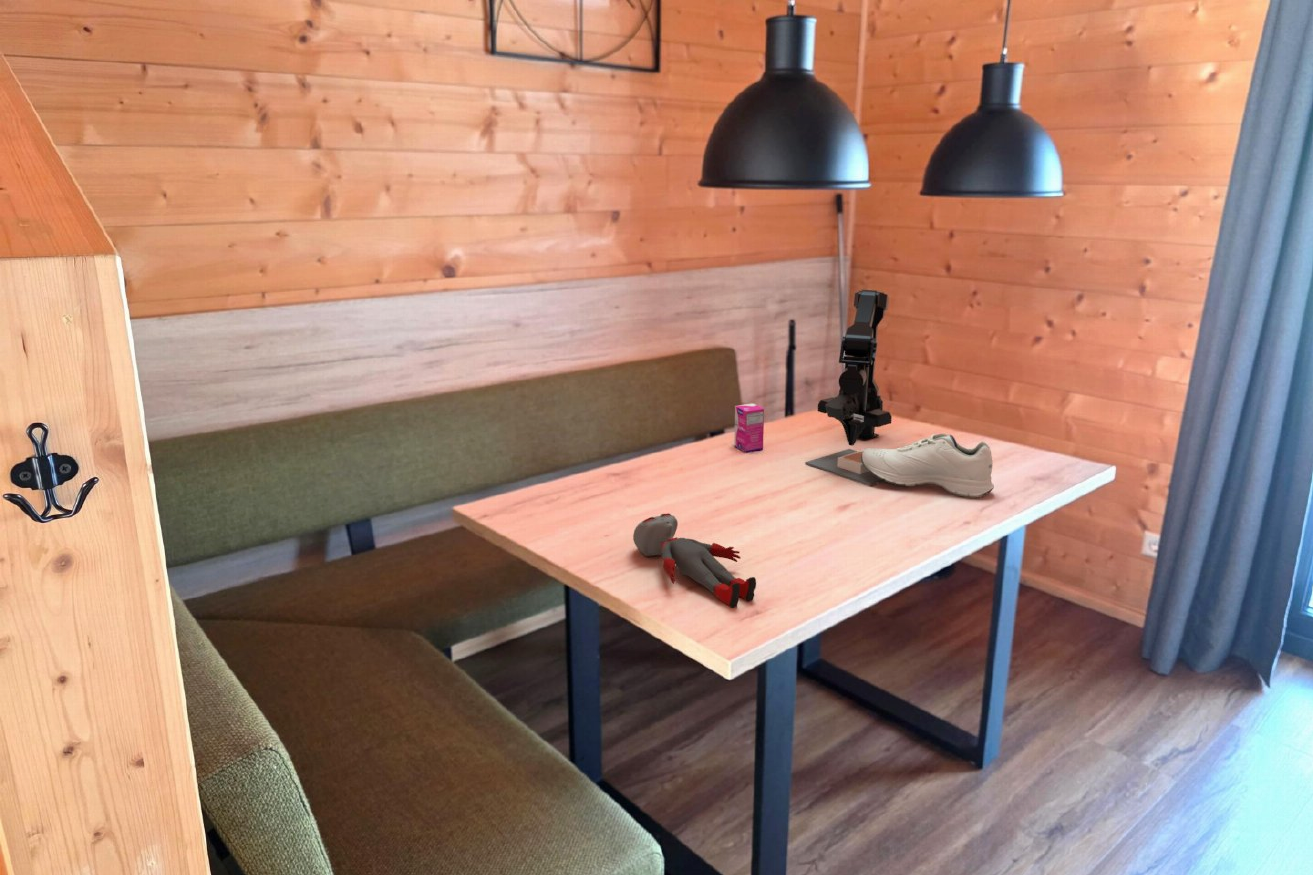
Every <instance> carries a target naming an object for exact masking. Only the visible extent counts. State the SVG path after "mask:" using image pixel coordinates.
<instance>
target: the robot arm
mask: <svg viewBox="0 0 1313 875" xmlns="http://www.w3.org/2000/svg"><path fill="white" fill-rule="evenodd" d="M889 298H890V297H889V295H888V294H887V293H885V292H882V291H878V290H876V289H862V290H858V292H854V296H853V306H852V307H853V309H855V310H856V312H855V316H854V321H853V324H852V325H851V326H849V327H847V328H846V331H845V335H844V336H842V338H841V342H840V343H841V344H840V351H839V359H838V363H839V364H844V368H843V370H842V372H841V374H840V375H839V378H838V385H839V386H838V387H839V390H838V395H837V396H835V397H828V398H824V399H821V400H819V401H818V403H817V410H816V411H817V412H818V413H819V412H820V413H822V414H827V417H828V418H833V419H835V420H837V421H838V422H840V423H841V425H842V426H843V430H844V432H845V433H844V434H845V436H846V440H847V443H848V446H854V445H855V444H856V443H857V440H861V441H867V440H868V441H869V440H870V439H873V438H878V437H879V436H880V434H879V433H877V432H875V429H876V428H879V427H883V426H886V425H890V424H892V414H891V412H890V411H887V410H884V408H883V407H884V405H883V404H884V403H883V402H884V401H883V400H882V397H881V395H880V386H878V384H877V382H876V379H875V367H876V357H877V350H878V342H877V341H878V328H879V324H880V323H881V321H882V320H883V318H884V317H885V315H886V311H888V309H889V308H888V307H889Z"/></svg>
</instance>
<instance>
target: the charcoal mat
mask: <svg viewBox="0 0 1313 875" xmlns="http://www.w3.org/2000/svg"><path fill="white" fill-rule="evenodd" d="M857 451H858V450H855V449H851V448H847V449H844V450H841V451H837V452H834V453H831V454H827V455H824V456H821V457H818V458H815V459H814V458H813V459H811V460H808V461H805V462H804V464H805V465H806V466H808V467H812V468H815V469H817V470H821V471H824V472H826V473H830V474H833V475H834V476H835V475H836V476H838V477H842V478H844V479H848V480H850V481H854V482H856V483H859V484H862V485H866V486H867V487H872V486H874V485H877V484H880V483H882V482H885V480H881V479H879V478H877V475H876V476H874V475H873V474H871V473H870V471H868V472H865V473H862V474H858V473H855V472H852V471H849V470H846V469H843V468H840V467H837V464H838V457H841V456H844V455H848V454H851V453H854V452H857Z"/></svg>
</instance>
